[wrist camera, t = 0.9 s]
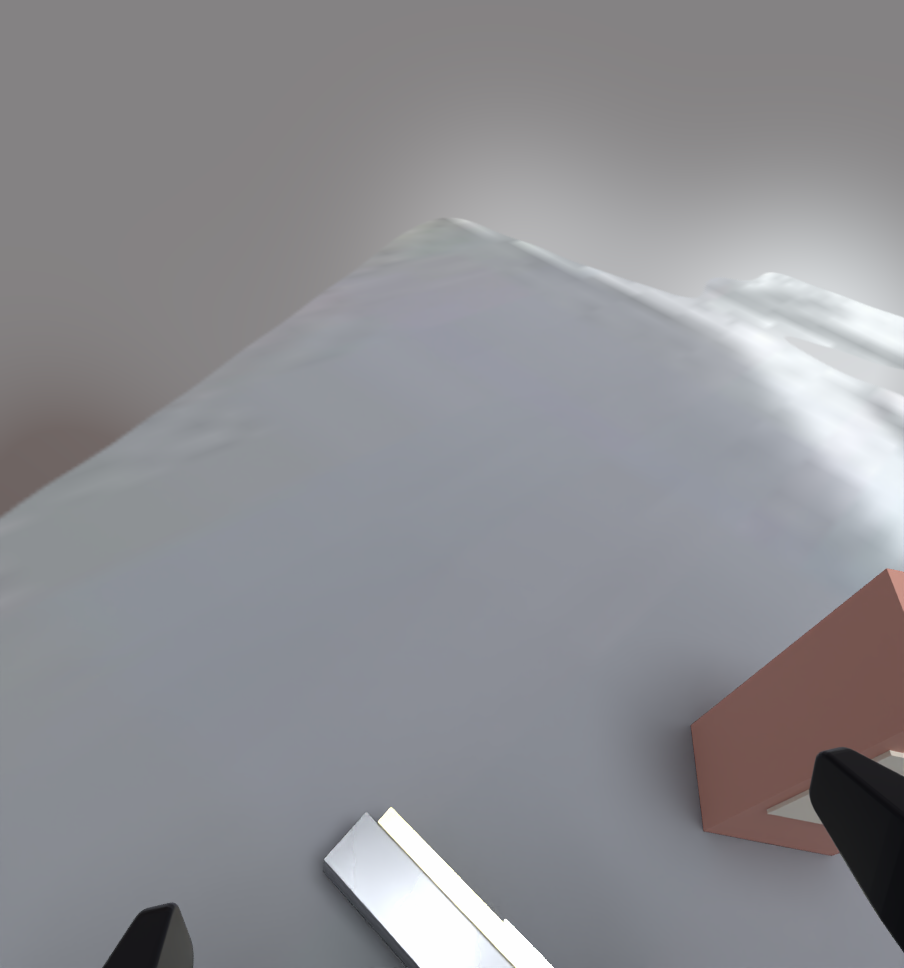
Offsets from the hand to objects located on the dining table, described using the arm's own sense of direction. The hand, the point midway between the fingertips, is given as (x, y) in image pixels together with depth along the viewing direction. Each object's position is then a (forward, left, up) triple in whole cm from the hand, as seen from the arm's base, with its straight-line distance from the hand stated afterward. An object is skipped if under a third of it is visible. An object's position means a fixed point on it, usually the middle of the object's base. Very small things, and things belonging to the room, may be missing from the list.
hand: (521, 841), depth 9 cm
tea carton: (-4, -14, -15) cm, 21 cm away
